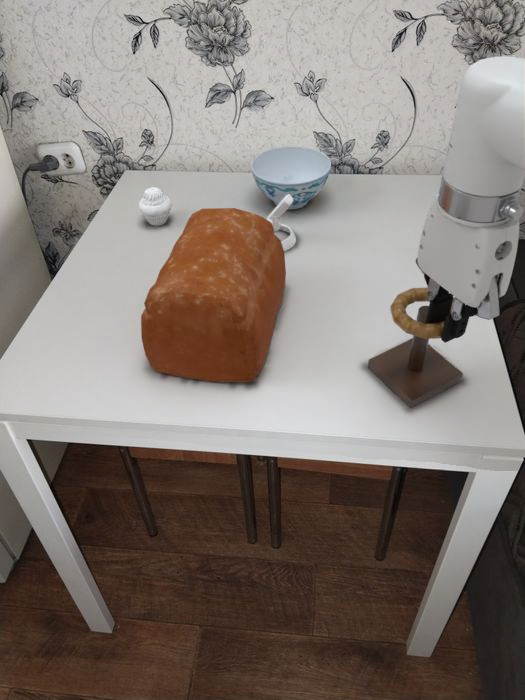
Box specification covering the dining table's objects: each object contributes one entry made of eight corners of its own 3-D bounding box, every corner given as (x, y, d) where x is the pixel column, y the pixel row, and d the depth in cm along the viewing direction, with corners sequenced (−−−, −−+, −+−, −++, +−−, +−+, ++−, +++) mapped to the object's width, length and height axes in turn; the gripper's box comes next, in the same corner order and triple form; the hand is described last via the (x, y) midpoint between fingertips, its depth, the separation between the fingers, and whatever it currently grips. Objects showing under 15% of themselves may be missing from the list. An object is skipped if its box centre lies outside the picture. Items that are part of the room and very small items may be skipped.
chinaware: (329, 182, 121) (331, 146, 115) (328, 222, 110) (330, 184, 104) (257, 181, 122) (255, 145, 117) (248, 220, 111) (246, 183, 106)
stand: (461, 380, 80) (479, 317, 72) (410, 408, 77) (424, 345, 69) (416, 342, 86) (428, 279, 78) (367, 367, 83) (375, 304, 75)
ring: (477, 324, 73) (480, 313, 72) (422, 351, 70) (425, 340, 69) (428, 287, 79) (430, 276, 77) (376, 310, 75) (377, 300, 74)
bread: (289, 281, 98) (289, 201, 87) (259, 389, 80) (255, 305, 70) (190, 271, 100) (179, 193, 90) (141, 374, 83) (120, 291, 73)
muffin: (149, 211, 115) (143, 178, 110) (178, 214, 114) (173, 181, 109) (136, 228, 111) (129, 194, 106) (166, 232, 109) (160, 198, 104)
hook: (311, 238, 97) (275, 214, 95) (276, 270, 107) (244, 249, 105) (323, 207, 101) (289, 183, 99) (289, 241, 111) (258, 220, 109)
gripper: (569, 220, 55) (516, 359, 68) (451, 154, 65) (424, 285, 78) (510, 245, 53) (467, 383, 66) (397, 172, 63) (378, 304, 76)
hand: (444, 329), depth 72 cm, fingers closed on ring, 2 cm apart
